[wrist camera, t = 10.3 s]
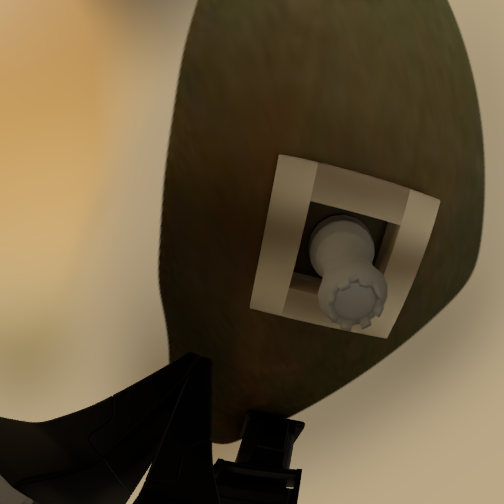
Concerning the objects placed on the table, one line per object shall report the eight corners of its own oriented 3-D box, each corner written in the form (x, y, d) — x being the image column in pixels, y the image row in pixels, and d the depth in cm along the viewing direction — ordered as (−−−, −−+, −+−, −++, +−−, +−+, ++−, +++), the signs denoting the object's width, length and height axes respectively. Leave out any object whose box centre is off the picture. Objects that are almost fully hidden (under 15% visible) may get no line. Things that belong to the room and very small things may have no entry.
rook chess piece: (352, 284, 19) (368, 359, 11) (297, 259, 19) (285, 326, 12) (382, 230, 17) (424, 283, 10) (325, 201, 17) (335, 237, 10)
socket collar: (380, 319, 19) (386, 338, 17) (256, 290, 20) (249, 307, 18) (425, 194, 15) (440, 200, 13) (283, 154, 17) (278, 154, 14)
